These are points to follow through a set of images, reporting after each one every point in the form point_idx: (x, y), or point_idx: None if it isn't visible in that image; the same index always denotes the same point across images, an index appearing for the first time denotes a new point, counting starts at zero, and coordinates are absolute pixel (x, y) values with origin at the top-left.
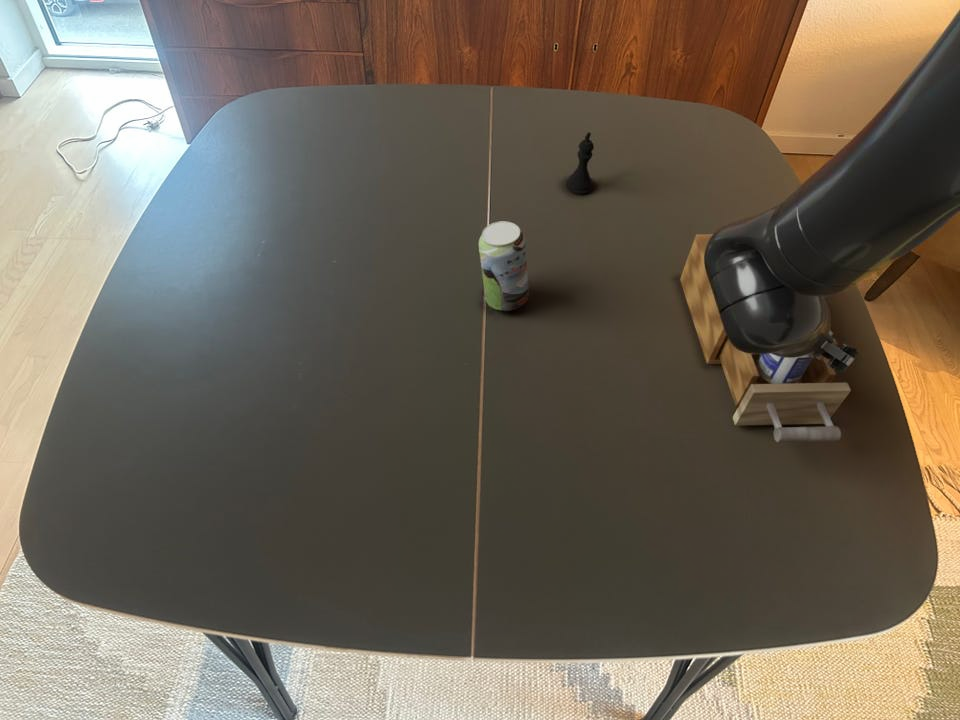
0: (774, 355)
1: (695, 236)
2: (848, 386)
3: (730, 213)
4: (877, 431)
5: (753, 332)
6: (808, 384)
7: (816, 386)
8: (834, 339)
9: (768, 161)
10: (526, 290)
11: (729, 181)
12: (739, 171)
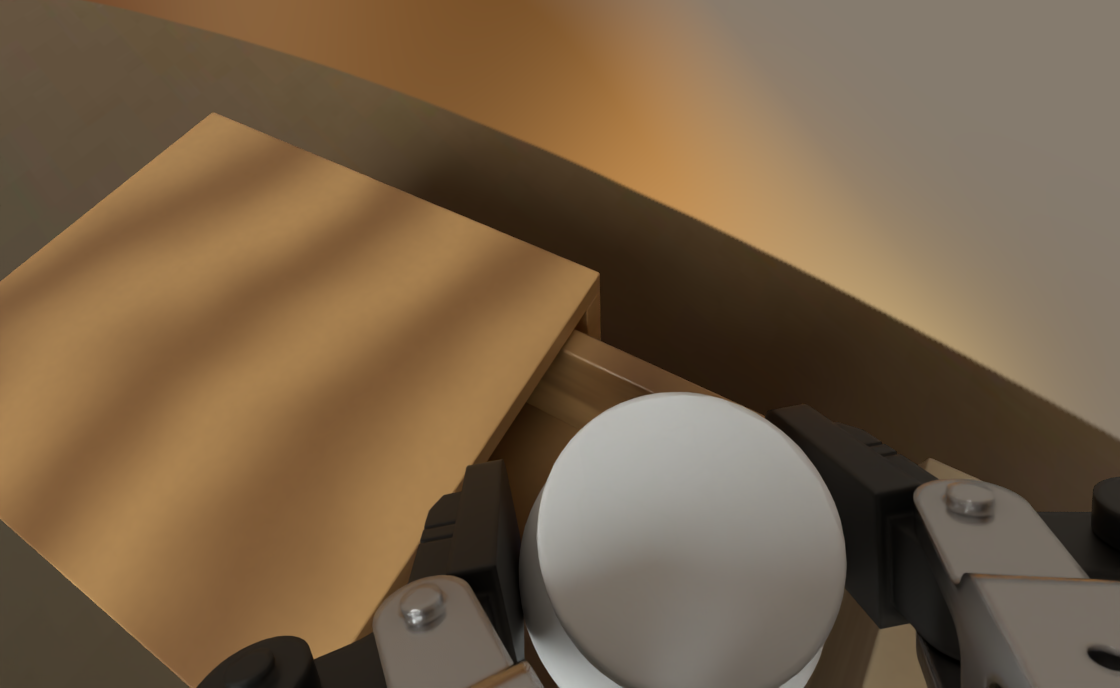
0: None
1: None
2: (956, 472)
3: (111, 180)
4: (924, 401)
5: None
6: (882, 658)
7: (911, 628)
8: (993, 499)
9: (112, 22)
10: None
11: (56, 116)
12: (64, 81)
